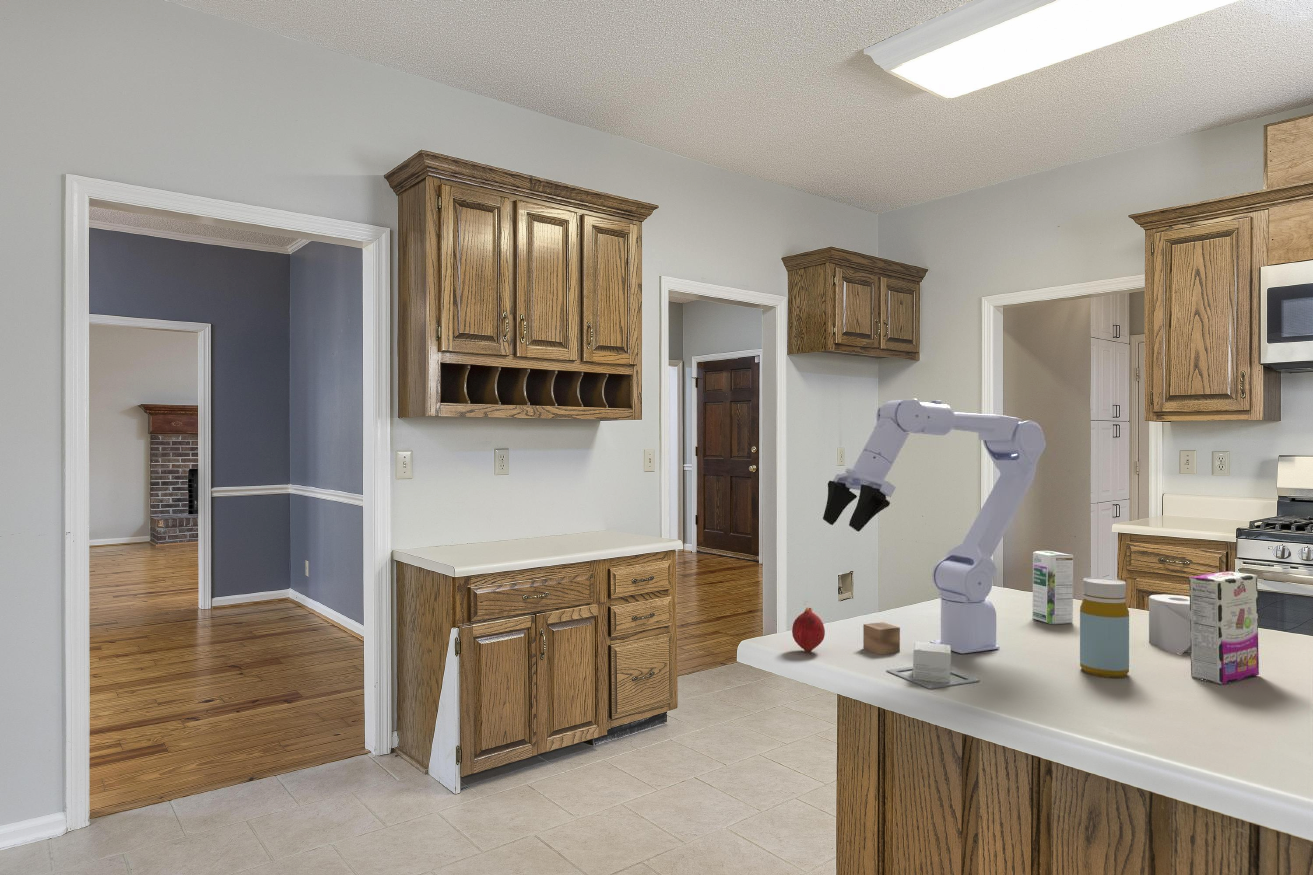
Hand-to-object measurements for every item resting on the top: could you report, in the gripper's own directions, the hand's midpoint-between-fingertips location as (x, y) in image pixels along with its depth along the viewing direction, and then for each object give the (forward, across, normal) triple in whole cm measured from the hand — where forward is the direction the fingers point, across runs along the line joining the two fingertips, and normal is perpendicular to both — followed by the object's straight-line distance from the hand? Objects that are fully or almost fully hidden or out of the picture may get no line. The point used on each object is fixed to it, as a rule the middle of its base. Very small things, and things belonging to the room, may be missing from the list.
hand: (840, 525), depth 136 cm
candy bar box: (-9, +33, +55) cm, 65 cm away
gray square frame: (+15, +15, +18) cm, 28 cm away
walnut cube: (+14, -1, +21) cm, 26 cm away
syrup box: (-12, -6, +63) cm, 64 cm away
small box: (+15, +15, +18) cm, 28 cm away
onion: (+21, -5, +10) cm, 24 cm away
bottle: (0, +24, +42) cm, 48 cm away
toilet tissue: (-15, +18, +66) cm, 70 cm away
